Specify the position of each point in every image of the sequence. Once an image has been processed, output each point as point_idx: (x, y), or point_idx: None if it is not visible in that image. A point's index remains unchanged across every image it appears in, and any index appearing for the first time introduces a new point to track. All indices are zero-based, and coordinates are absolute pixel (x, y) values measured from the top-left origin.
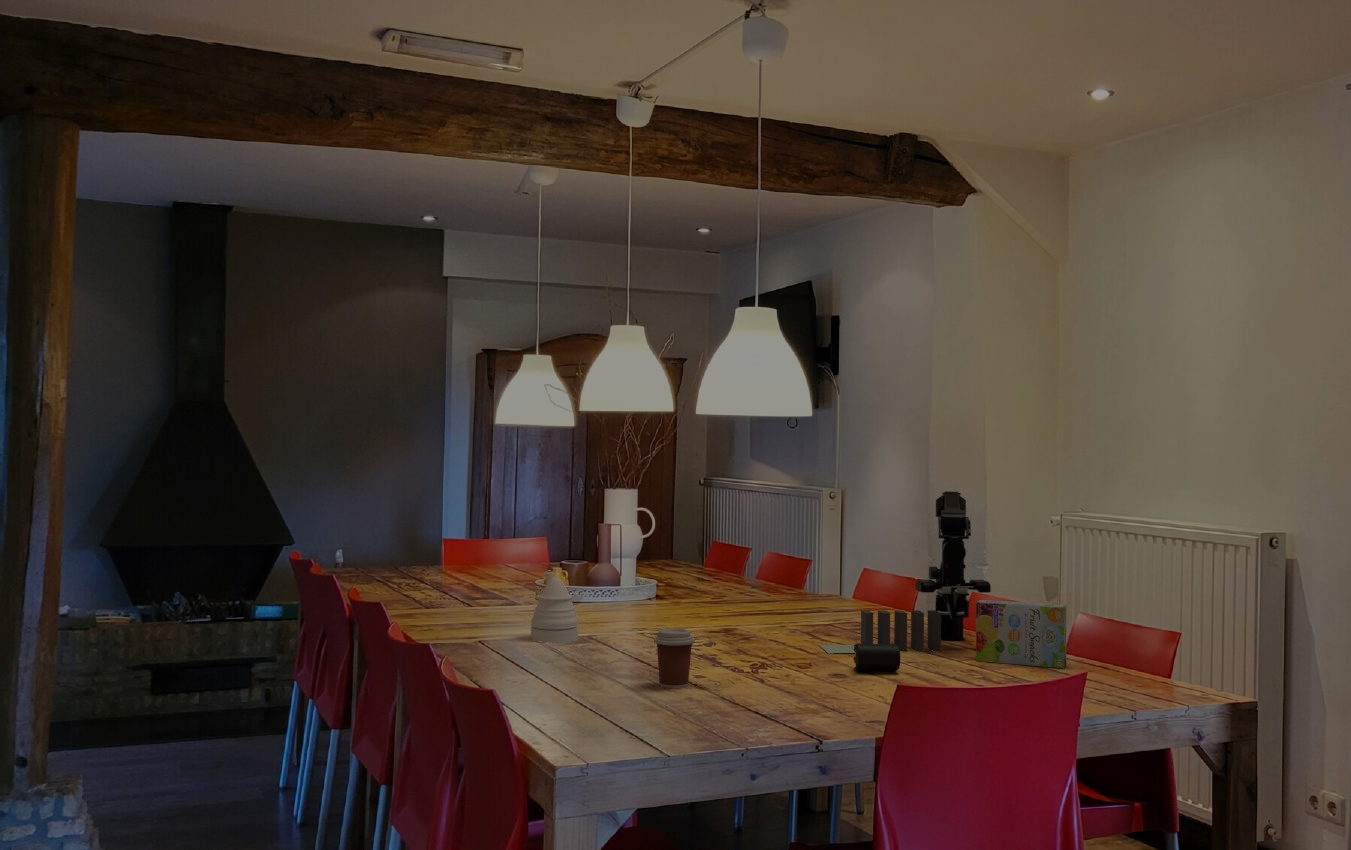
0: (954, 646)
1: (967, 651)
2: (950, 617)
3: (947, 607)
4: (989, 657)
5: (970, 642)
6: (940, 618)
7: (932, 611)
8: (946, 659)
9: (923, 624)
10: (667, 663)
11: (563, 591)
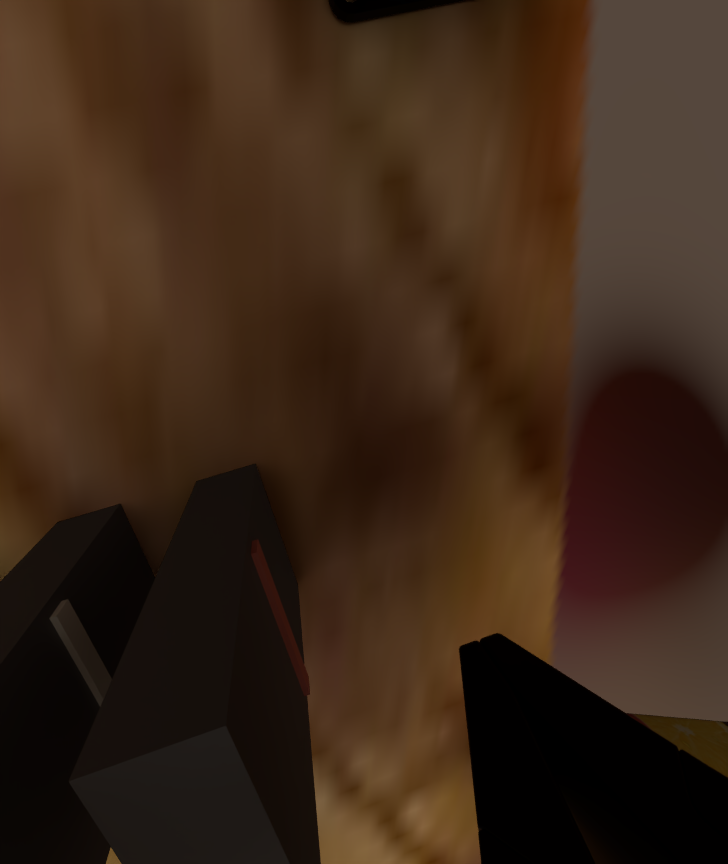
0: (412, 349)
1: (476, 530)
2: (460, 657)
3: (479, 822)
4: None
5: (571, 97)
6: (314, 847)
7: (181, 859)
8: (324, 805)
9: (105, 846)
10: None
11: None
